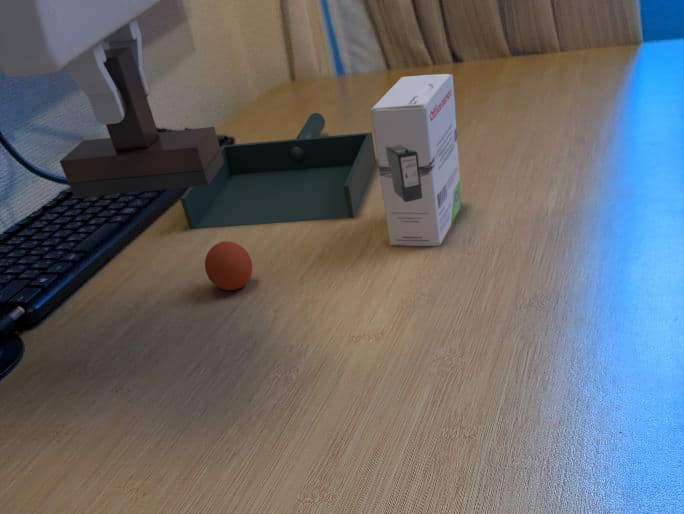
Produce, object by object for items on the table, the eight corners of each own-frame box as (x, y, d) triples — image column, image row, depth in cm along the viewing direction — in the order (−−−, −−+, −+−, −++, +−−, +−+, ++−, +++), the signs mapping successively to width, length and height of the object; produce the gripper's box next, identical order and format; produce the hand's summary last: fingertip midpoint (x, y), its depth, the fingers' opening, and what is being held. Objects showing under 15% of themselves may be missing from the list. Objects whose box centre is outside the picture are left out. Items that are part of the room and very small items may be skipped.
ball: (206, 300, 71) (193, 255, 68) (219, 278, 74) (207, 234, 71) (250, 297, 70) (238, 253, 68) (262, 275, 73) (251, 231, 70)
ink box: (414, 207, 80) (399, 73, 72) (464, 207, 78) (454, 70, 70) (387, 246, 74) (368, 106, 66) (440, 247, 73) (426, 104, 65)
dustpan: (353, 218, 80) (348, 185, 78) (189, 229, 83) (180, 198, 81) (389, 128, 98) (386, 99, 96) (253, 140, 101) (247, 112, 98)
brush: (74, 197, 58) (22, 71, 52) (96, 176, 60) (49, 54, 55) (208, 185, 56) (169, 53, 50) (224, 163, 59) (189, 36, 53)
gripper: (61, -166, 53) (137, 70, 63) (-120, -127, 39) (14, 172, 48) (151, -182, 52) (214, 61, 62) (-1, -148, 38) (112, 163, 47)
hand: (125, 111), depth 55 cm, fingers closed on brush, 2 cm apart
